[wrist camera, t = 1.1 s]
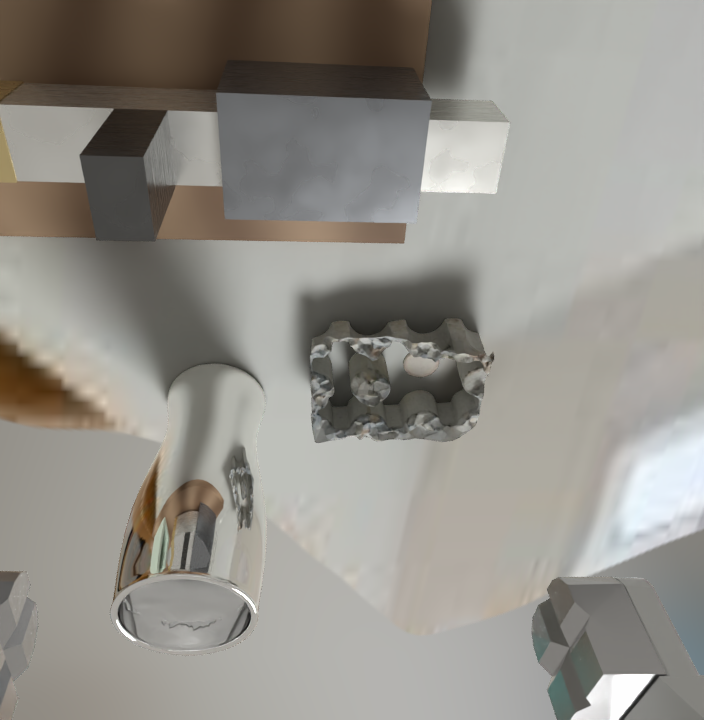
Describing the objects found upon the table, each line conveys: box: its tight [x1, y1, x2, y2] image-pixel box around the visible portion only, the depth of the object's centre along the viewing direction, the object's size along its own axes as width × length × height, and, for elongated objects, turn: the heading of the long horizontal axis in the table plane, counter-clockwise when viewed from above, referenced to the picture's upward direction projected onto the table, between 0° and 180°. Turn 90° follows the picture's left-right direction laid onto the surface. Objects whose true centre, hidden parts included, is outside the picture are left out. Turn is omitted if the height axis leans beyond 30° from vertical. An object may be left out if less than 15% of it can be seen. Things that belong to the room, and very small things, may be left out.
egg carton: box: [310, 318, 494, 443], centre depth 39 cm, size 11×8×4 cm
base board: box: [0, 0, 432, 243], centre depth 29 cm, size 29×12×2 cm, turn 87°
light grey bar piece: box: [0, 80, 510, 241], centre depth 25 cm, size 21×3×8 cm, turn 87°
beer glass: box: [110, 363, 267, 656], centre depth 35 cm, size 7×7×15 cm
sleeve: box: [216, 60, 432, 223], centre depth 27 cm, size 8×5×5 cm, turn 87°
